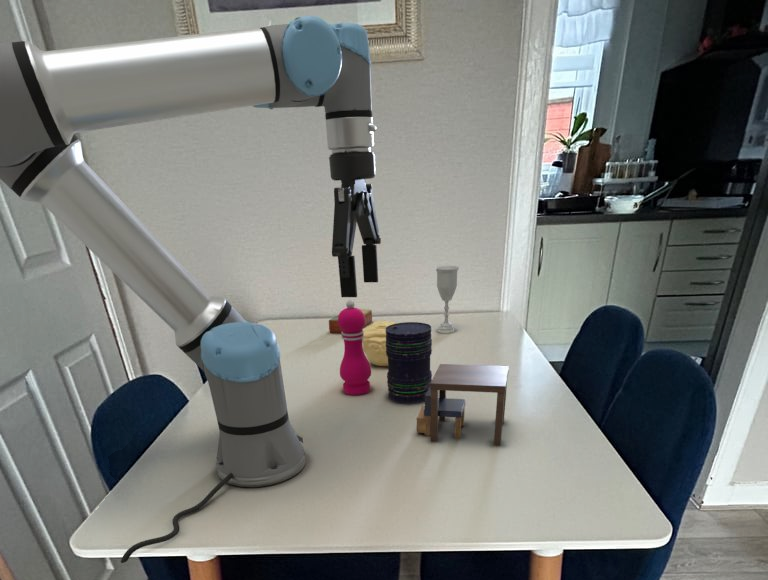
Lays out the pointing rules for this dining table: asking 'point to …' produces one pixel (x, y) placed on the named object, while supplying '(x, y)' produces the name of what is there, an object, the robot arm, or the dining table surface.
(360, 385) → the pepper mill
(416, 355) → the dark blue barrel
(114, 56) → the robot arm
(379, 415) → the dining table surface
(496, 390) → the little table
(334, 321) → the carton
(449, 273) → the chalice
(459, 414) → the blue toy chair
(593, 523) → the dining table surface
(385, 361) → the sculpture
